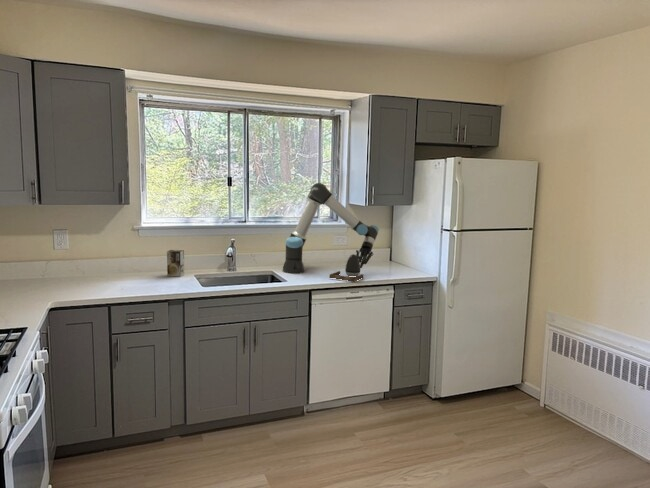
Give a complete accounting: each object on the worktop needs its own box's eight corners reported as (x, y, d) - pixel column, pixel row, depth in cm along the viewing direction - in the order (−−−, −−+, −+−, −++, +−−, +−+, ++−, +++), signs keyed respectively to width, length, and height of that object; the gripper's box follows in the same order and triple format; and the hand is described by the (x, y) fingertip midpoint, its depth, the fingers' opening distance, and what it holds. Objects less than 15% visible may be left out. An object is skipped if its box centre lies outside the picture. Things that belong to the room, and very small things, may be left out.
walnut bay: (329, 278, 315) (329, 274, 314) (338, 275, 327) (339, 271, 327) (354, 282, 306) (354, 277, 306) (363, 278, 319) (363, 274, 318)
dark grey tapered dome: (360, 278, 320) (361, 255, 317) (345, 277, 320) (345, 255, 318) (360, 275, 330) (361, 253, 328) (345, 274, 330) (346, 252, 328)
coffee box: (184, 274, 311) (184, 250, 309) (180, 276, 304) (180, 251, 302) (171, 274, 312) (170, 249, 310) (166, 276, 305) (166, 251, 303)
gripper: (377, 248, 342) (367, 275, 329) (360, 246, 348) (350, 273, 335) (375, 241, 336) (364, 269, 324) (358, 240, 342) (347, 266, 330)
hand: (357, 271), depth 330 cm, fingers closed
